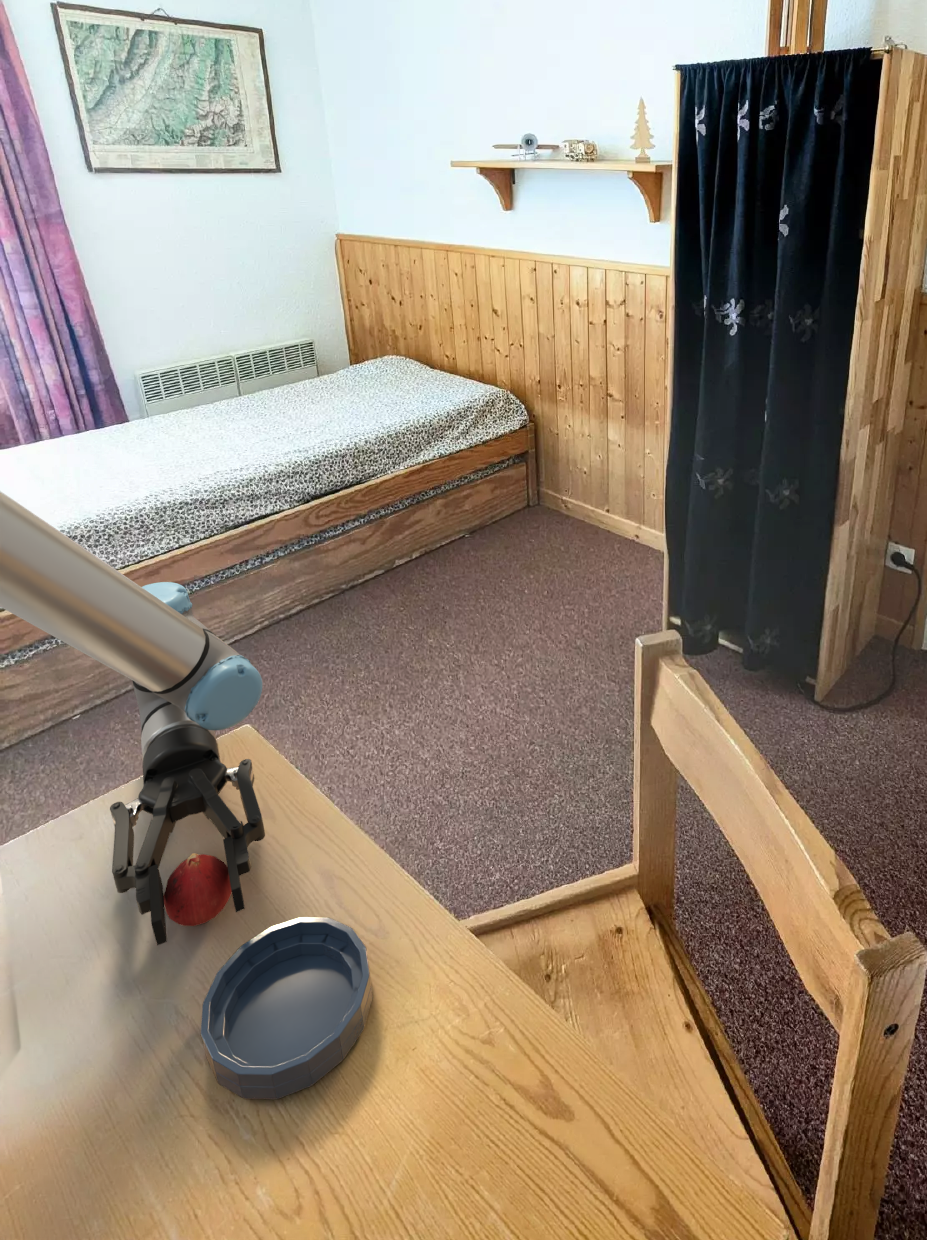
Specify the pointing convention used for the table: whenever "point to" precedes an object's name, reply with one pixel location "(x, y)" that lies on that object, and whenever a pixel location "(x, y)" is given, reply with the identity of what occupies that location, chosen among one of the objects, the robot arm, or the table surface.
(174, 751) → the robot arm
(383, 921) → the table surface
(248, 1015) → the bowl
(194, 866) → the red oval fruit
